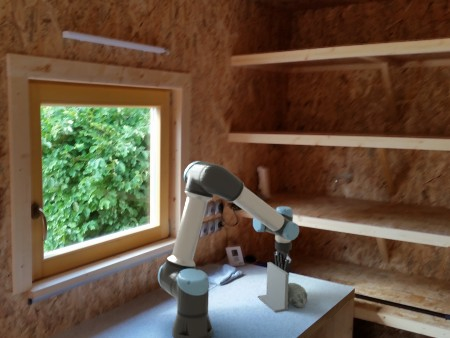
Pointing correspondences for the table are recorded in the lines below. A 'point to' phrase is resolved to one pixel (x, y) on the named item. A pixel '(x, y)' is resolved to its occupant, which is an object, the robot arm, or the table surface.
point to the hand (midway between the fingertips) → (281, 290)
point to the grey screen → (276, 288)
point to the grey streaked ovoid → (297, 295)
